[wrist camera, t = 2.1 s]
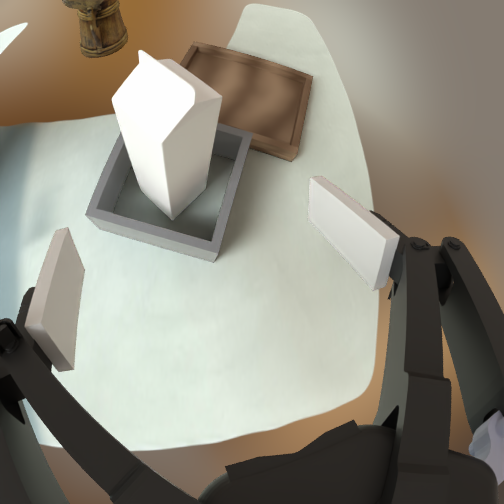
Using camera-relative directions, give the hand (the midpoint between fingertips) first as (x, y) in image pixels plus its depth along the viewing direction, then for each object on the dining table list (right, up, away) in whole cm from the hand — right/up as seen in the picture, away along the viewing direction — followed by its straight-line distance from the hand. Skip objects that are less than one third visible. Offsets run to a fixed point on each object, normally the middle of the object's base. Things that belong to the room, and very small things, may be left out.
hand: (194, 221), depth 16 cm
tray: (+1, +21, +27) cm, 34 cm away
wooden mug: (-23, +33, +24) cm, 47 cm away
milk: (-7, +6, +22) cm, 24 cm away
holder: (-7, +6, +22) cm, 24 cm away
